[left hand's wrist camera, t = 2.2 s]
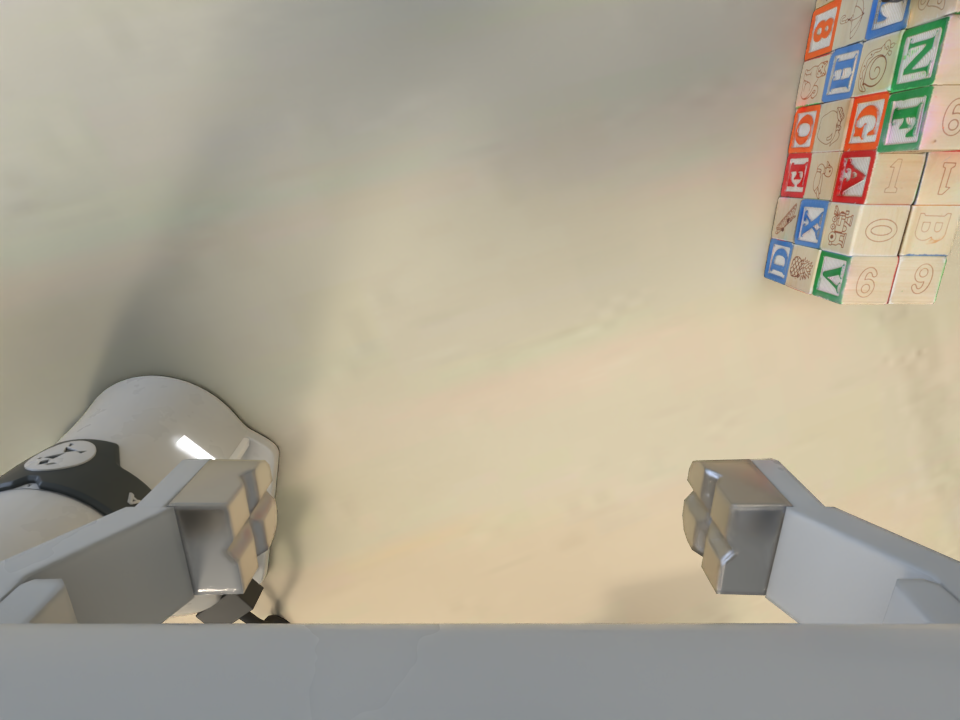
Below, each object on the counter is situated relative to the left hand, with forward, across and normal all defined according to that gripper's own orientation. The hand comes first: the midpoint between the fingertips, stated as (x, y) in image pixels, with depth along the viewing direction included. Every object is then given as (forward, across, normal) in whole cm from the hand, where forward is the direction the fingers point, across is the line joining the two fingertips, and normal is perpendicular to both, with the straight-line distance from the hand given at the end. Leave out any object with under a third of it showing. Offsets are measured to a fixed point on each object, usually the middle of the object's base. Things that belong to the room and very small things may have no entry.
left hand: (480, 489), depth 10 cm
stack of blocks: (+33, -26, -8) cm, 43 cm away
